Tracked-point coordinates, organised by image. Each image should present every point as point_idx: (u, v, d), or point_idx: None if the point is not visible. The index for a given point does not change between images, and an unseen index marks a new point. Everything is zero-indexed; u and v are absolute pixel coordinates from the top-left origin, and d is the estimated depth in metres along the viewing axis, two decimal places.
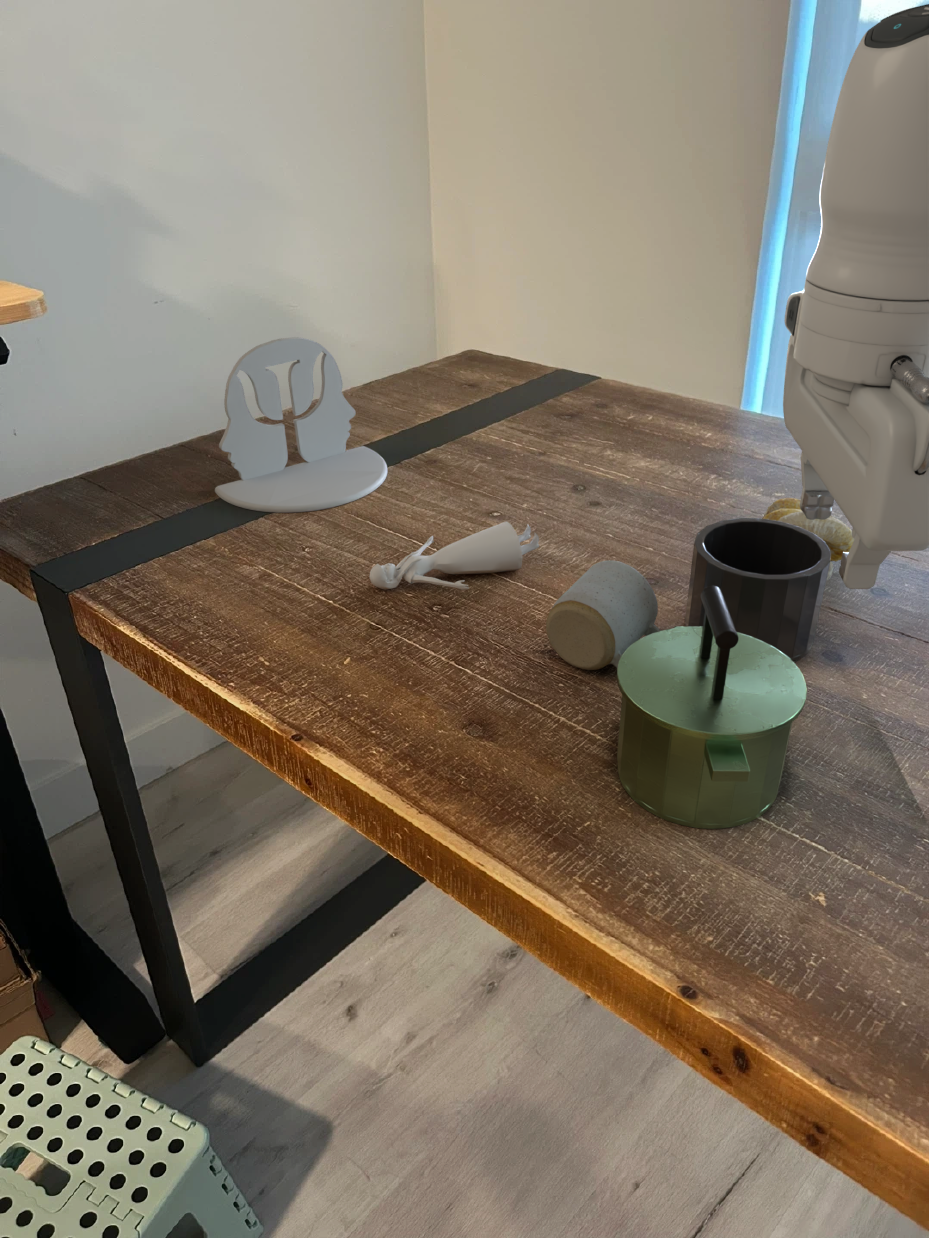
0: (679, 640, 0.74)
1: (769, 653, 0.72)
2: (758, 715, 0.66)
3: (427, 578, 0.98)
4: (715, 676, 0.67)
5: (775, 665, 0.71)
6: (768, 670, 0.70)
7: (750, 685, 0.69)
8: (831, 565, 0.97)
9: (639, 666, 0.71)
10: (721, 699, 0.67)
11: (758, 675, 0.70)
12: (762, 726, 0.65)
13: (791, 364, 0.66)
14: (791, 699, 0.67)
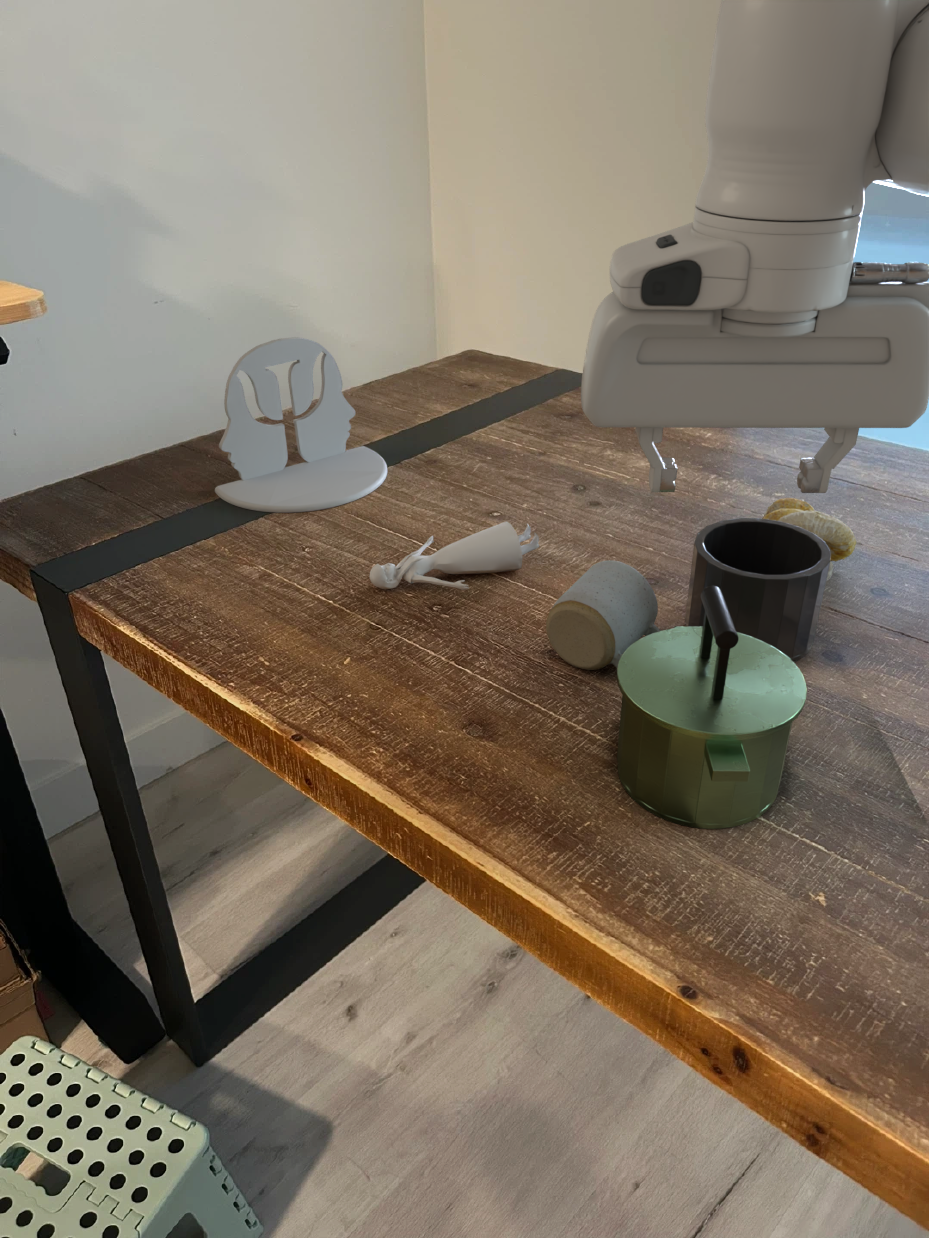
0: (679, 640, 0.74)
1: (769, 653, 0.72)
2: (758, 715, 0.66)
3: (427, 578, 0.98)
4: (715, 676, 0.67)
5: (775, 665, 0.71)
6: (768, 670, 0.70)
7: (750, 685, 0.69)
8: (831, 565, 0.97)
9: (639, 666, 0.71)
10: (721, 699, 0.67)
11: (758, 675, 0.70)
12: (762, 726, 0.65)
13: (618, 351, 0.56)
14: (791, 699, 0.67)
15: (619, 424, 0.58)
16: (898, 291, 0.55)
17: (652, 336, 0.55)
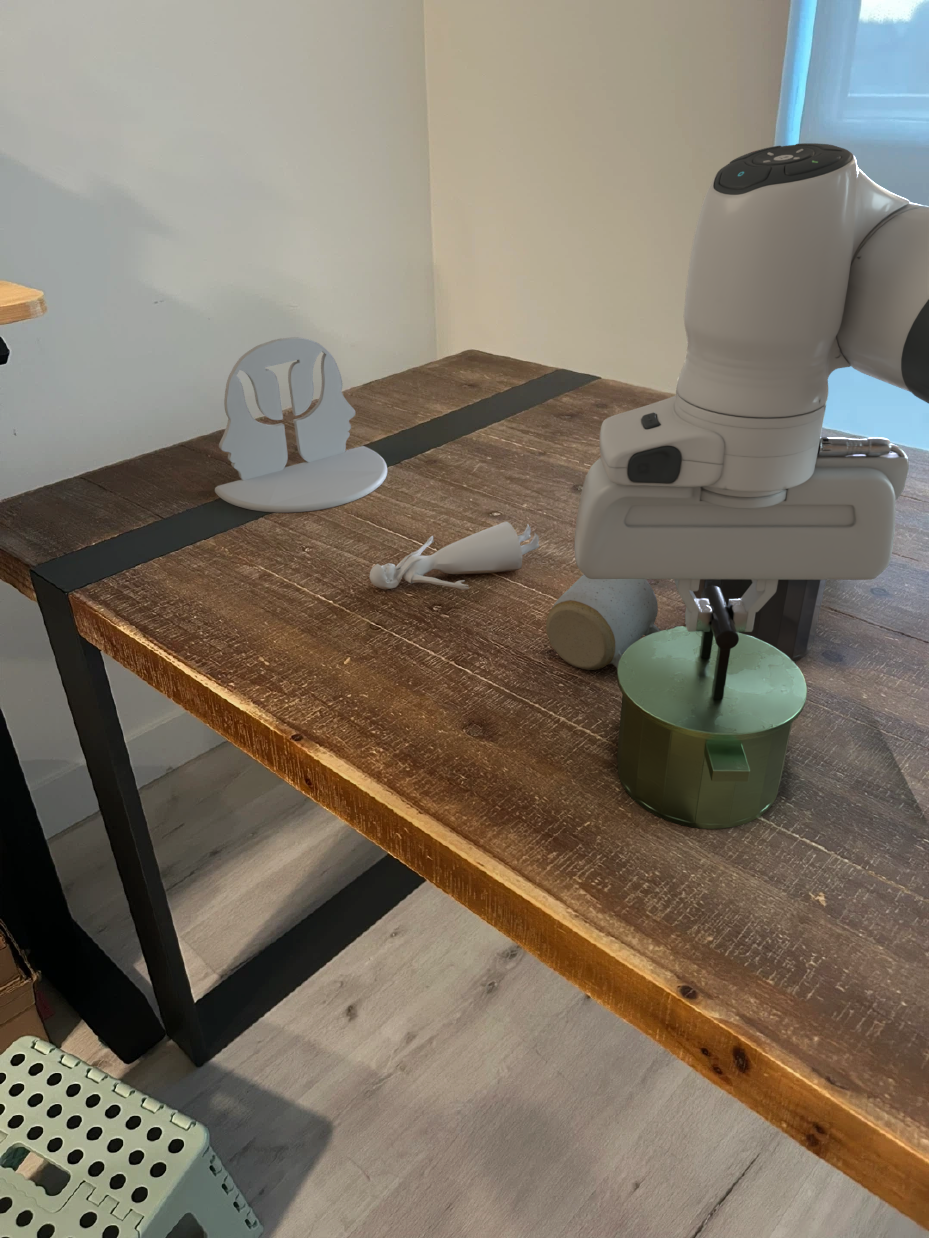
0: (679, 640, 0.74)
1: (769, 653, 0.72)
2: (758, 715, 0.66)
3: (427, 578, 0.98)
4: (715, 676, 0.67)
5: (775, 665, 0.71)
6: (769, 670, 0.70)
7: (750, 685, 0.69)
8: None
9: (639, 666, 0.71)
10: (721, 699, 0.67)
11: (758, 675, 0.70)
12: (762, 726, 0.65)
13: (607, 518, 0.61)
14: (791, 699, 0.67)
15: (609, 577, 0.64)
16: (861, 463, 0.60)
17: (638, 504, 0.61)
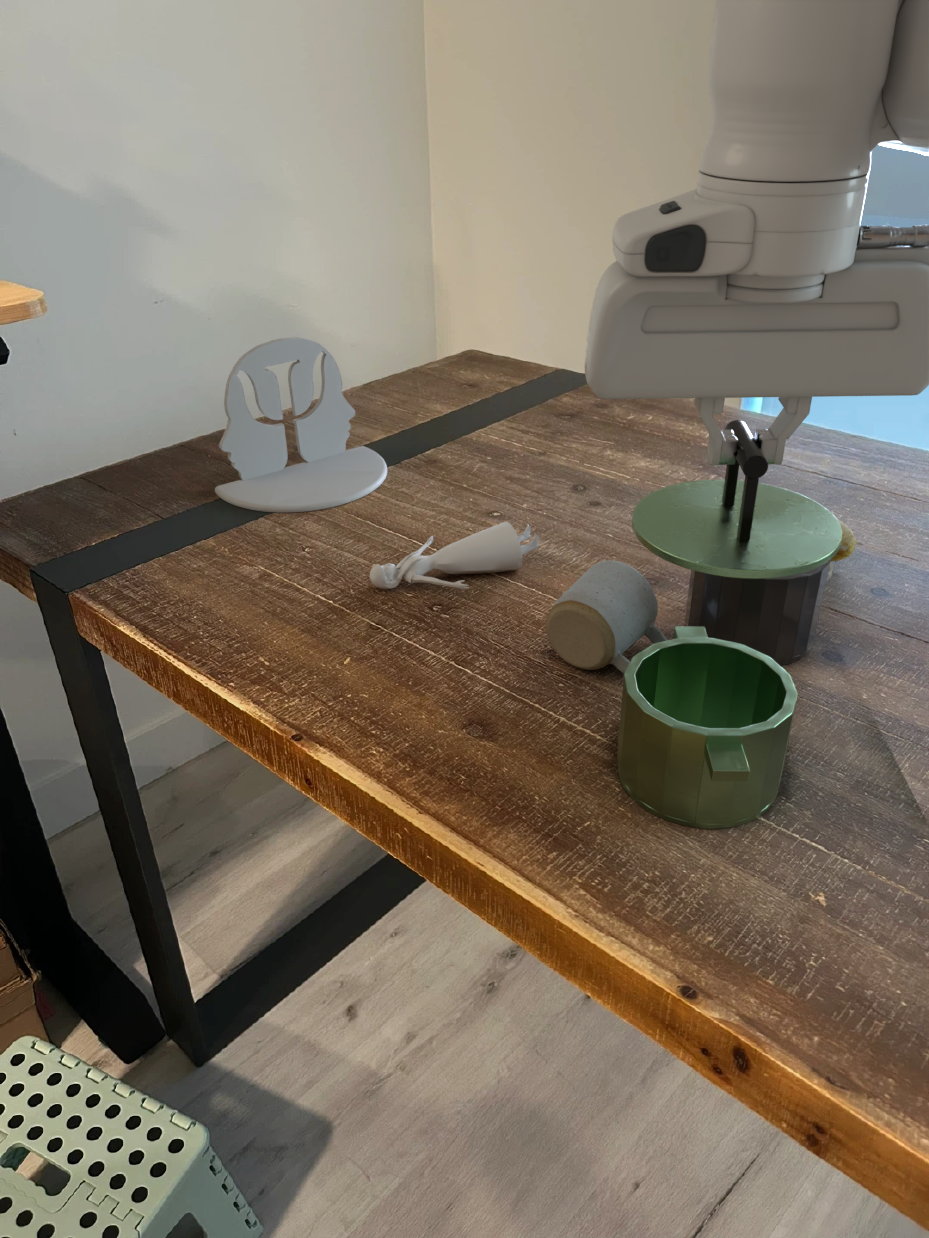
0: (699, 491, 0.67)
1: (799, 501, 0.66)
2: (790, 553, 0.60)
3: (427, 578, 0.98)
4: (742, 513, 0.60)
5: (805, 510, 0.64)
6: (799, 515, 0.64)
7: (779, 528, 0.62)
8: (831, 565, 0.97)
9: (656, 513, 0.65)
10: (748, 540, 0.61)
11: (787, 520, 0.63)
12: (795, 563, 0.58)
13: (622, 321, 0.55)
14: (825, 539, 0.61)
15: (624, 395, 0.58)
16: (906, 255, 0.54)
17: (656, 304, 0.55)
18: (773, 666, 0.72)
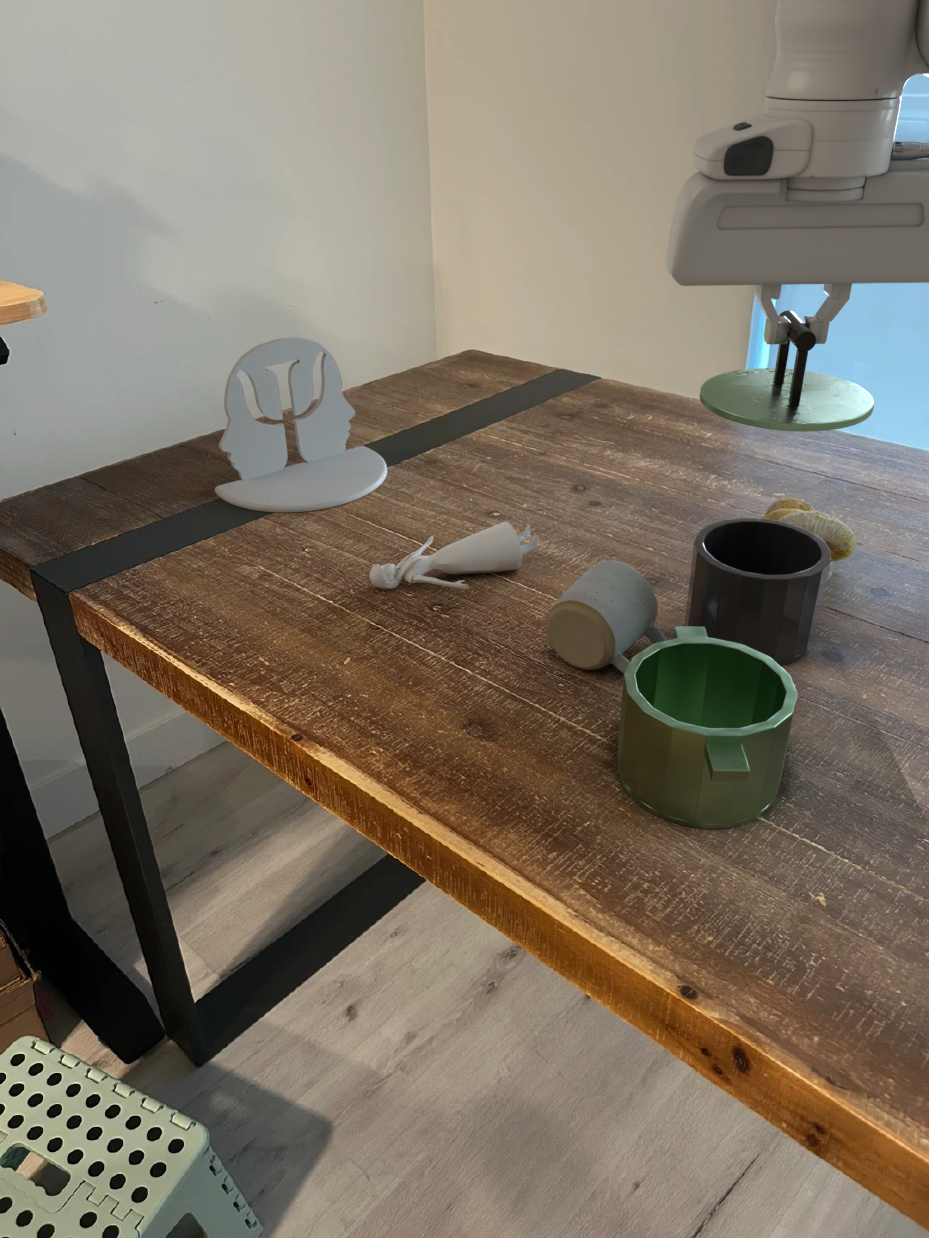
0: (753, 375, 0.81)
1: (836, 381, 0.80)
2: (833, 414, 0.73)
3: (427, 578, 0.98)
4: (793, 382, 0.74)
5: (843, 388, 0.78)
6: (838, 390, 0.78)
7: (822, 398, 0.76)
8: (831, 565, 0.97)
9: (720, 389, 0.78)
10: (798, 405, 0.75)
11: (828, 393, 0.77)
12: (837, 420, 0.72)
13: (702, 218, 0.69)
14: (861, 405, 0.75)
15: (700, 282, 0.71)
16: None
17: (730, 205, 0.68)
18: (773, 666, 0.72)
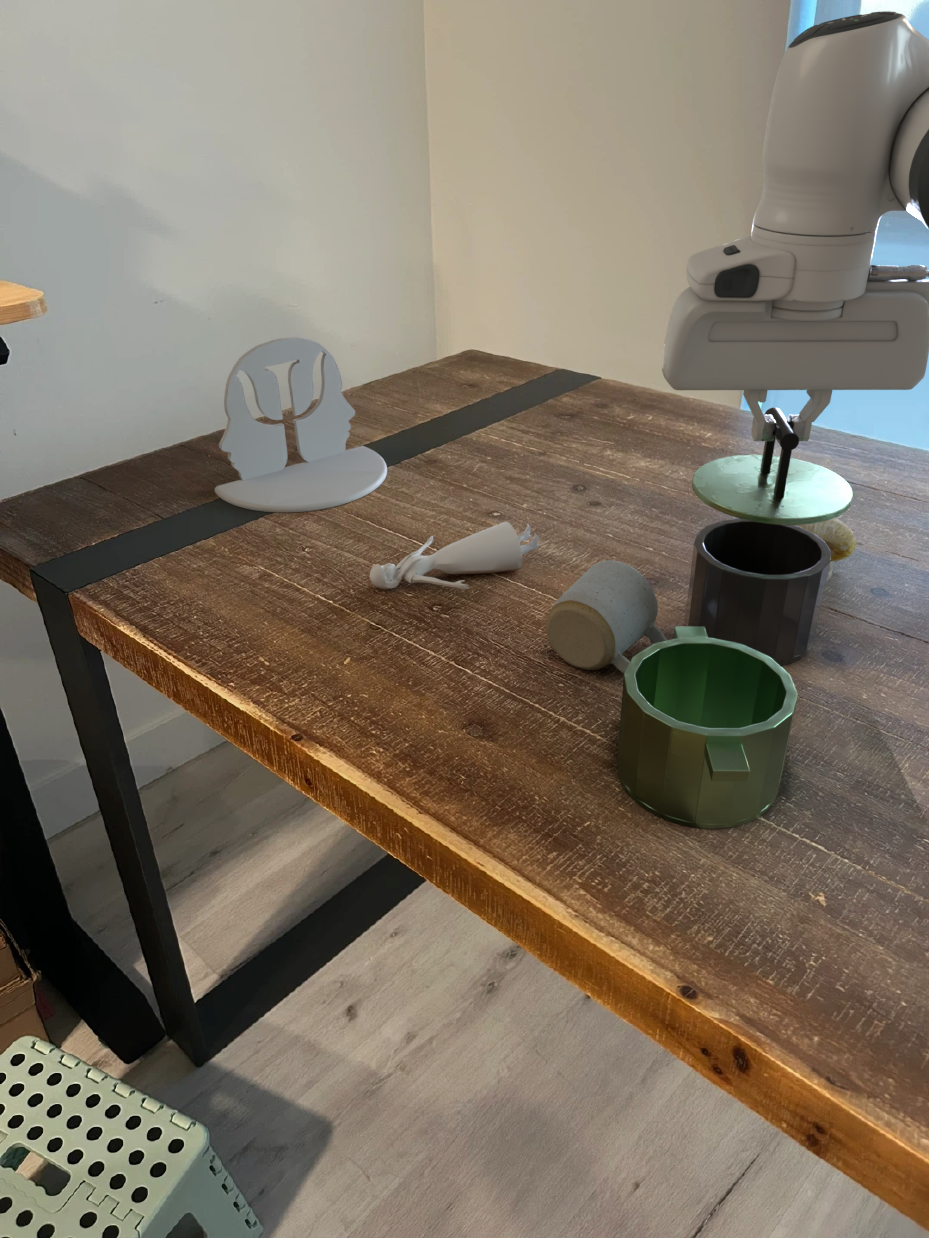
0: (742, 462, 0.87)
1: (819, 470, 0.86)
2: (814, 507, 0.79)
3: (427, 578, 0.98)
4: (778, 477, 0.80)
5: (825, 477, 0.84)
6: (820, 481, 0.84)
7: (805, 490, 0.82)
8: (831, 565, 0.97)
9: (710, 478, 0.84)
10: (782, 498, 0.81)
11: (811, 484, 0.83)
12: (818, 514, 0.78)
13: (694, 332, 0.75)
14: (840, 498, 0.81)
15: (693, 387, 0.77)
16: (903, 286, 0.74)
17: (720, 320, 0.74)
18: (773, 666, 0.72)
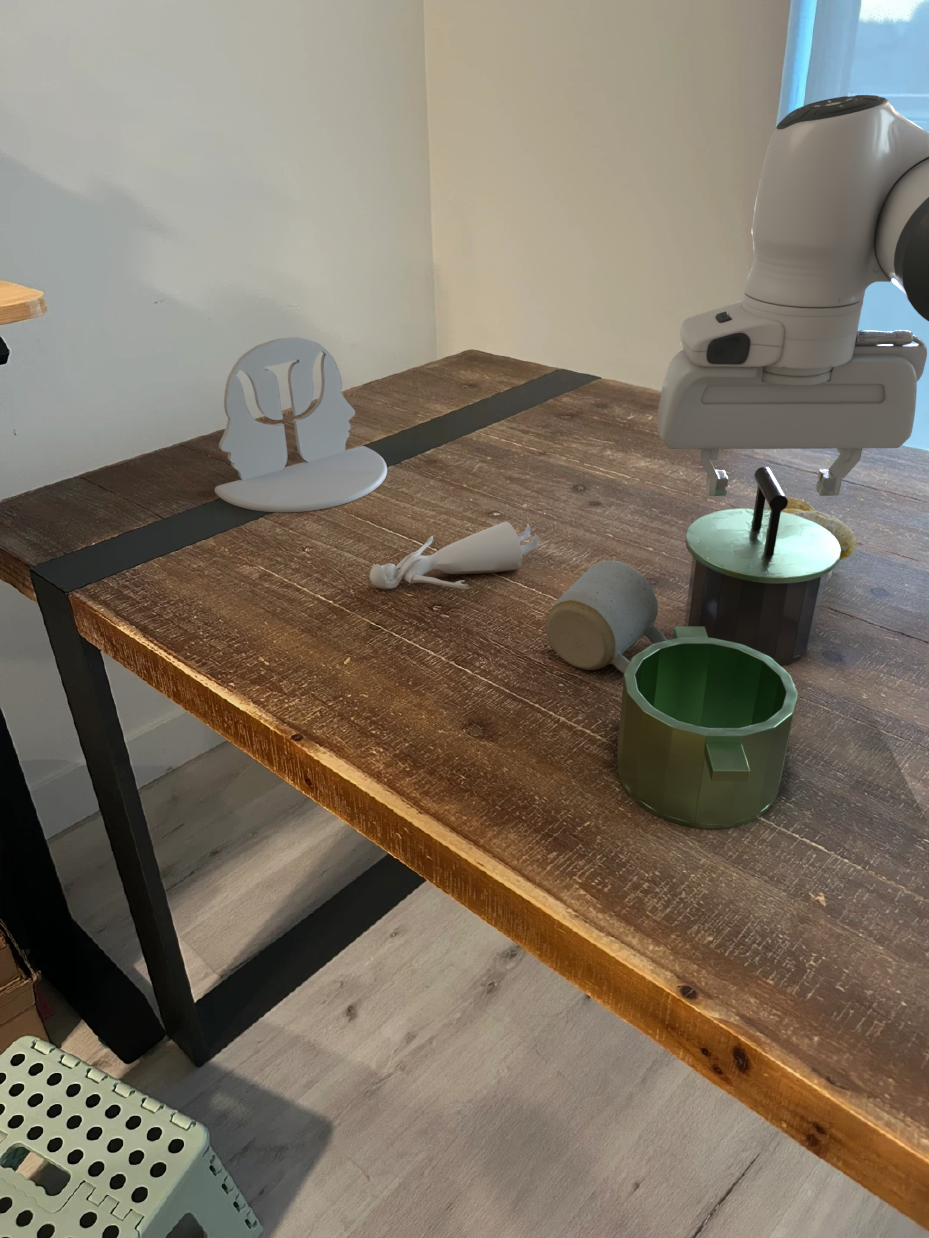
0: (734, 517, 0.90)
1: (808, 525, 0.88)
2: (803, 565, 0.82)
3: (427, 578, 0.98)
4: (768, 535, 0.83)
5: (814, 533, 0.87)
6: (809, 537, 0.87)
7: (795, 546, 0.85)
8: None
9: (703, 534, 0.87)
10: (772, 555, 0.84)
11: (800, 540, 0.86)
12: (806, 572, 0.81)
13: (688, 395, 0.77)
14: (828, 555, 0.84)
15: (687, 447, 0.80)
16: (890, 351, 0.77)
17: (713, 384, 0.77)
18: (773, 666, 0.72)
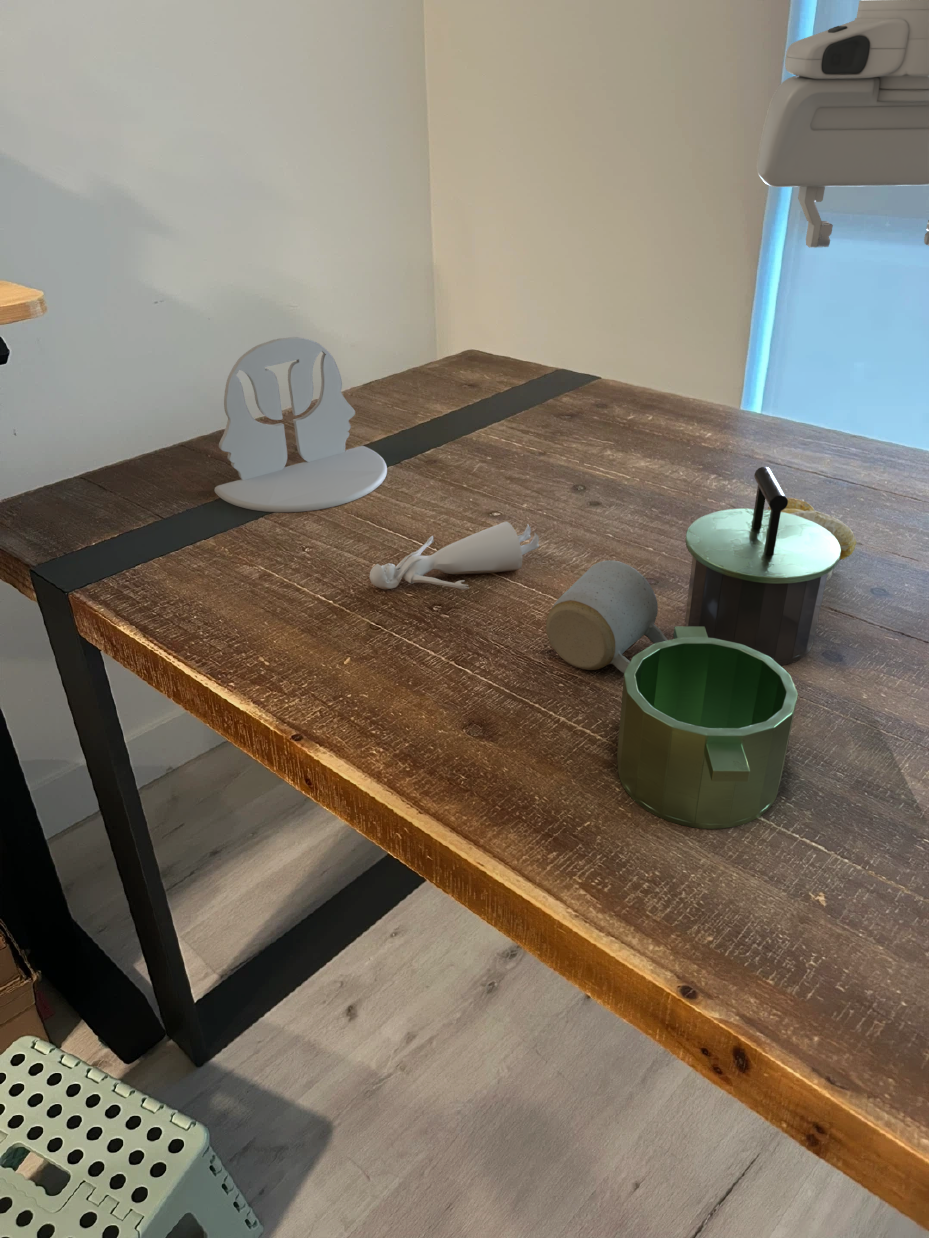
0: (734, 517, 0.90)
1: (808, 525, 0.88)
2: (803, 565, 0.82)
3: (427, 578, 0.98)
4: (768, 535, 0.83)
5: (814, 533, 0.87)
6: (809, 537, 0.87)
7: (795, 546, 0.85)
8: None
9: (703, 534, 0.87)
10: (772, 555, 0.84)
11: (800, 540, 0.86)
12: (806, 572, 0.81)
13: (797, 118, 0.72)
14: (828, 555, 0.84)
15: (792, 183, 0.75)
16: None
17: (824, 105, 0.72)
18: (773, 666, 0.72)
